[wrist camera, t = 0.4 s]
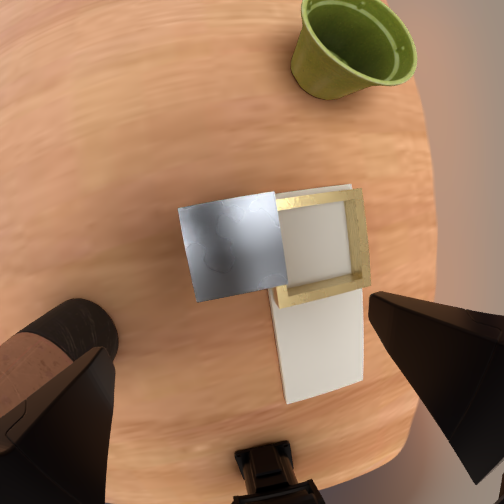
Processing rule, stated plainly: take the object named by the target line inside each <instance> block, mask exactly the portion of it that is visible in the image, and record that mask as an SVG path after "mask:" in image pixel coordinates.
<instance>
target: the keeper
mask: <svg viewBox="0 0 504 504" xmlns="http://www.w3.org/2000/svg"><path fill="white" fill-rule="evenodd" d="M338 201H344V207H345V215H346V223H347V231H348V240H349V250H350V261H351V272H352V273H351V274H347V275H343V276H339V277H335V278H331V279H327V280H322V281H318V282H314V283H310V284H305V285H301V286H296V287H292V288H287V285H282V286H277V287H273V288H272V293H273V299H274V302H275V303H276V305H277V306H278V308H279V309H281V308H286V307H290V306H294V305H299V304H303V303H307V302H311V301H315V300H319V299H323V298H327V297H331V296H335V295H338V294H342V293H346V292H350V291H353V290H357V289H361V288H364V287H368V286H371V275H370V260H369V247H368V236H367V226H366V217H365V209H364V201H363V194H362V188H357V189H348V190H340V191H332V192H324V193H317V194H310V195H303V196H296V197H289V198H283V199H276V205H277V211H279V210H285V209H292V208H298V207H304V206H311V205H317V204H324V203H331V202H338Z"/></svg>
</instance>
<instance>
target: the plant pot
mask: <svg viewBox="0 0 504 504" xmlns="http://www.w3.org/2000/svg"><path fill="white" fill-rule="evenodd" d="M301 17H302V24H303V27H302V30H301V33H300V36H299V39H298V42H297V45H296V48H295V51H294V54H293V57H292V60H291V71H292V74H293V75H294V77H295V78H296V80H297V82H298V83H299V85H300V87H301V88H303V89H304V90H305V91H306V92H308V93H309V94H311V95H313V96H315V97H317V98H321V99H325V100H333V99H338V98H341V97H344V96H346V95H348V94H351V93H353V92H356V91H359V90H361V89H364V88H367V87H370V86H379V85H382V86H395V85H399V84H402V83H405V82H406V81H408V80H409V79H410V78H411V77H412V76H413V74H414V72H415V70H416V66H417V52H416V47H415V44H414V42H413V39H412V37H411V35H410V33H409V31H408V30H407V28H406V27H405V25H404V23H403V22H402V21H401V20H400V18H399V17H398V16H397V15H396V14H395V13H394V12H393V11H392V10H391V9H390V8H389V7H388V6H386V5H385V4H384V3H383V2H381V1H380V0H303V1H302V4H301Z"/></svg>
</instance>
